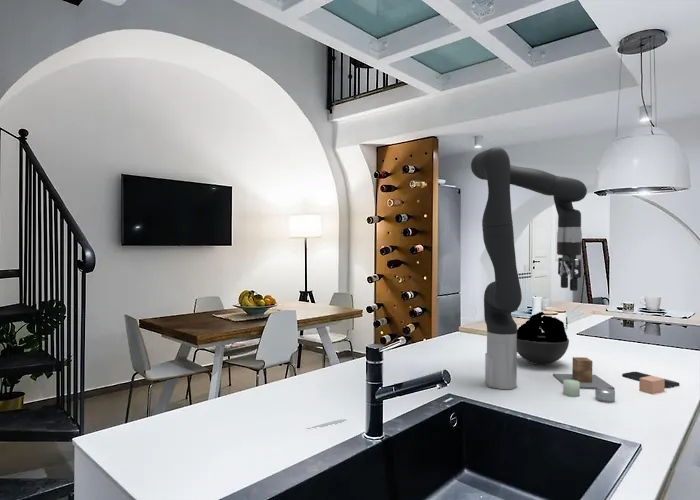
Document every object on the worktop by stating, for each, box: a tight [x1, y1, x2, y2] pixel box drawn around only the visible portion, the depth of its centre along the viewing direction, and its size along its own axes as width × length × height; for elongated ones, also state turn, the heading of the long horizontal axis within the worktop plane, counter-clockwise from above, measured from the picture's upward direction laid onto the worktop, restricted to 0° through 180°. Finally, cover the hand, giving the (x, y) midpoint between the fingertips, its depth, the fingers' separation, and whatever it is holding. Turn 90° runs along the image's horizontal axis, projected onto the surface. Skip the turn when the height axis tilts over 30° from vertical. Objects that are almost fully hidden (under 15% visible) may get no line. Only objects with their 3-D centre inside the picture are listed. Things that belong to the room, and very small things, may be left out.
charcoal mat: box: [552, 373, 615, 391], centre depth 152 cm, size 14×14×1 cm
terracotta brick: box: [638, 375, 666, 395], centre depth 144 cm, size 6×4×4 cm, turn 116°
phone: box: [621, 371, 680, 389], centre depth 154 cm, size 8×1×15 cm
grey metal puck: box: [594, 387, 616, 404], centre depth 136 cm, size 5×5×3 cm
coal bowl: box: [517, 311, 570, 366], centre depth 175 cm, size 20×20×19 cm
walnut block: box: [571, 356, 593, 383], centre depth 152 cm, size 4×4×7 cm
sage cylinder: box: [562, 379, 581, 398], centre depth 140 cm, size 4×4×4 cm
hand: (568, 289), depth 156 cm, fingers open, 8 cm apart
